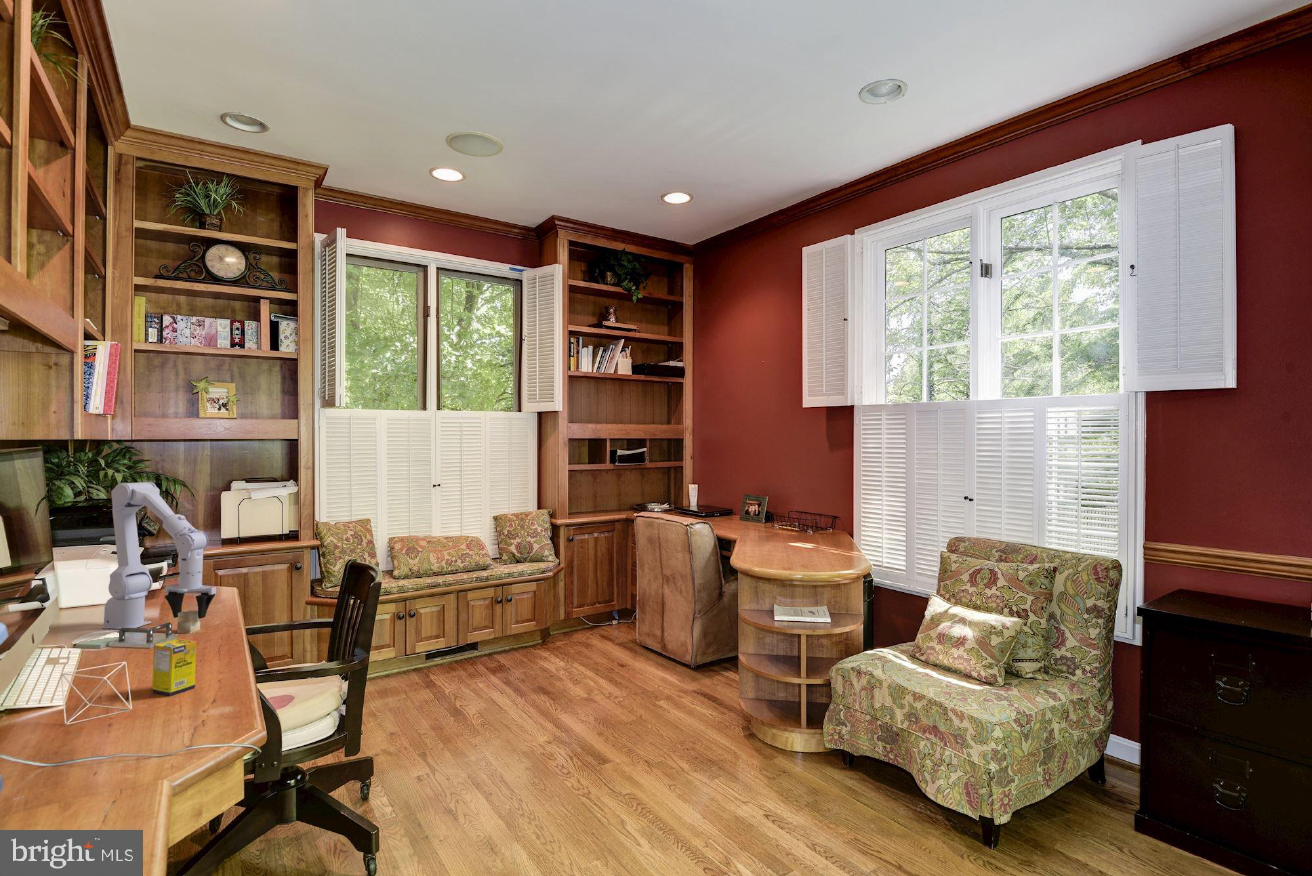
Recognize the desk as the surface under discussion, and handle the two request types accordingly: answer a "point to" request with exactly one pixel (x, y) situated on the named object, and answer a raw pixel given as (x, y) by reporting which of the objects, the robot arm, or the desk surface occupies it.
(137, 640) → the beige flat handled piece
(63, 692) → the geometric polyhedron
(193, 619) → the maple block
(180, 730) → the desk surface
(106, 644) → the pad
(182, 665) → the supplement box
